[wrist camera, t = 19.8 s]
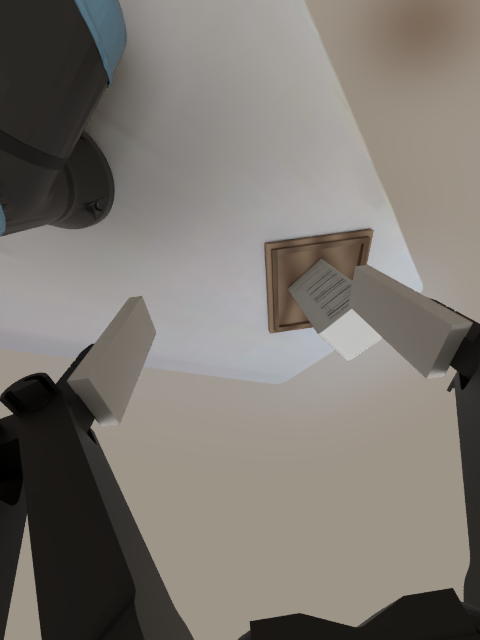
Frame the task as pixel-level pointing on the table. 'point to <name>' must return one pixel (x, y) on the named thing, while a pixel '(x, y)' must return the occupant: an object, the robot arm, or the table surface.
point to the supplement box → (332, 309)
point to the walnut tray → (297, 258)
